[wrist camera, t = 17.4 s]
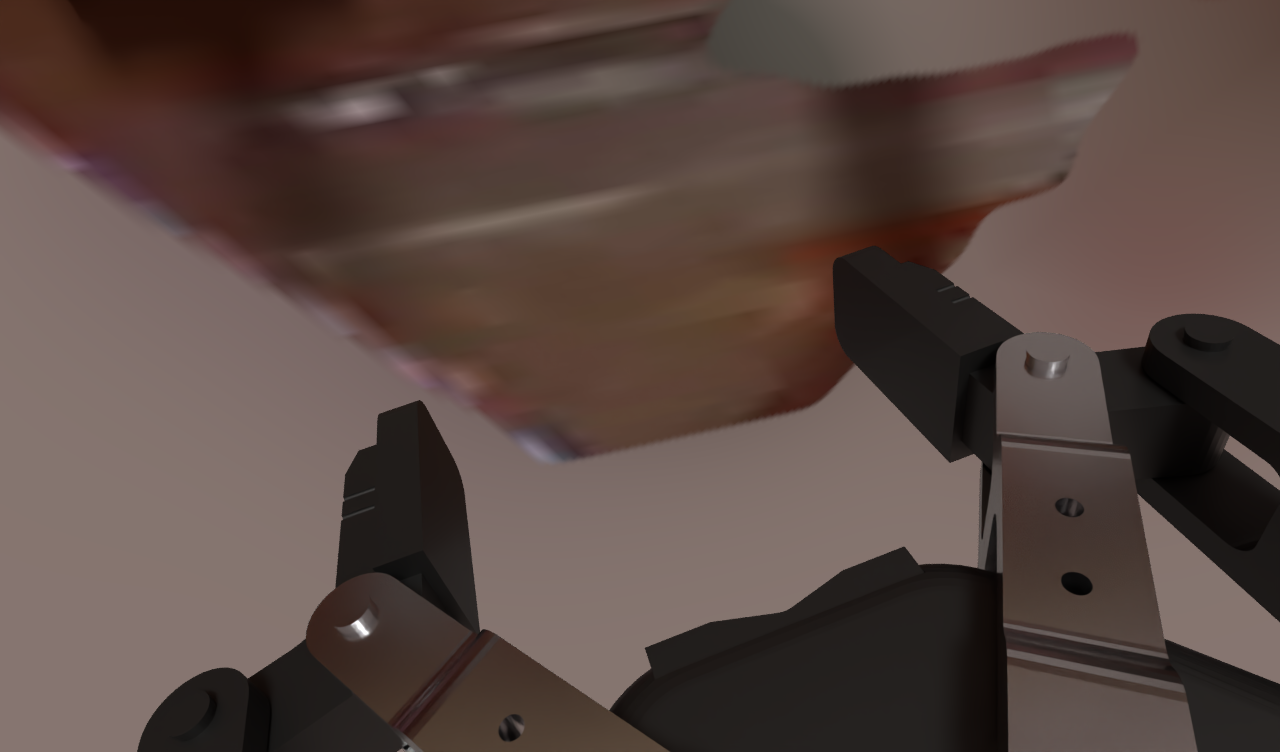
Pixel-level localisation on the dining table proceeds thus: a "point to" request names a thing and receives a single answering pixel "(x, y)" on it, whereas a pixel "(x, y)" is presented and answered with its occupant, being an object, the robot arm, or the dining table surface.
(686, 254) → the dining table surface
